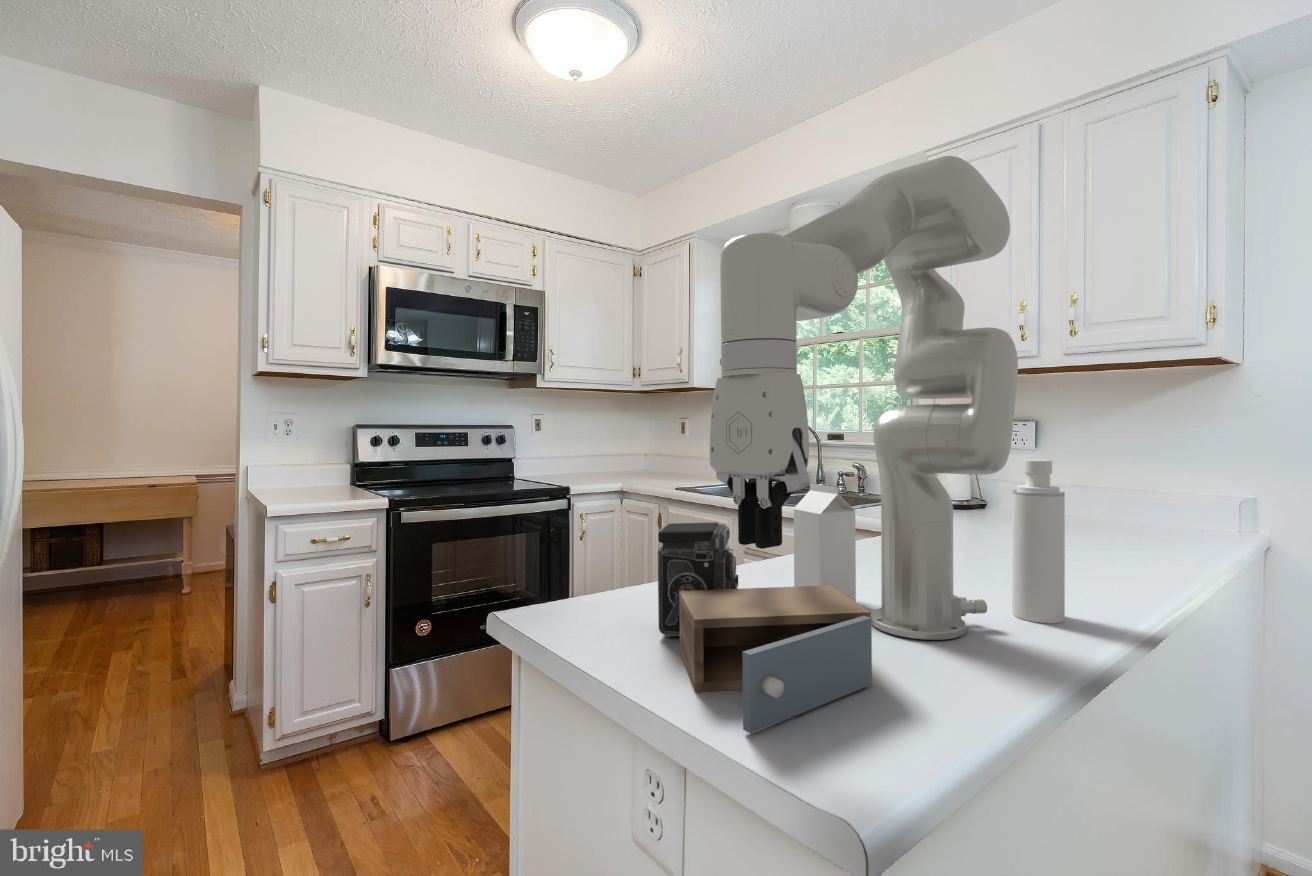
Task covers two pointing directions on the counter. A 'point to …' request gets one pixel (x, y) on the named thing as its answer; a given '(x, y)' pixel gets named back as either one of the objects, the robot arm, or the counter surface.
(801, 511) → the milk carton
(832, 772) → the counter surface
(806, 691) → the side door
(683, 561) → the camera
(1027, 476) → the spray bottle
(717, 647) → the cabinet
